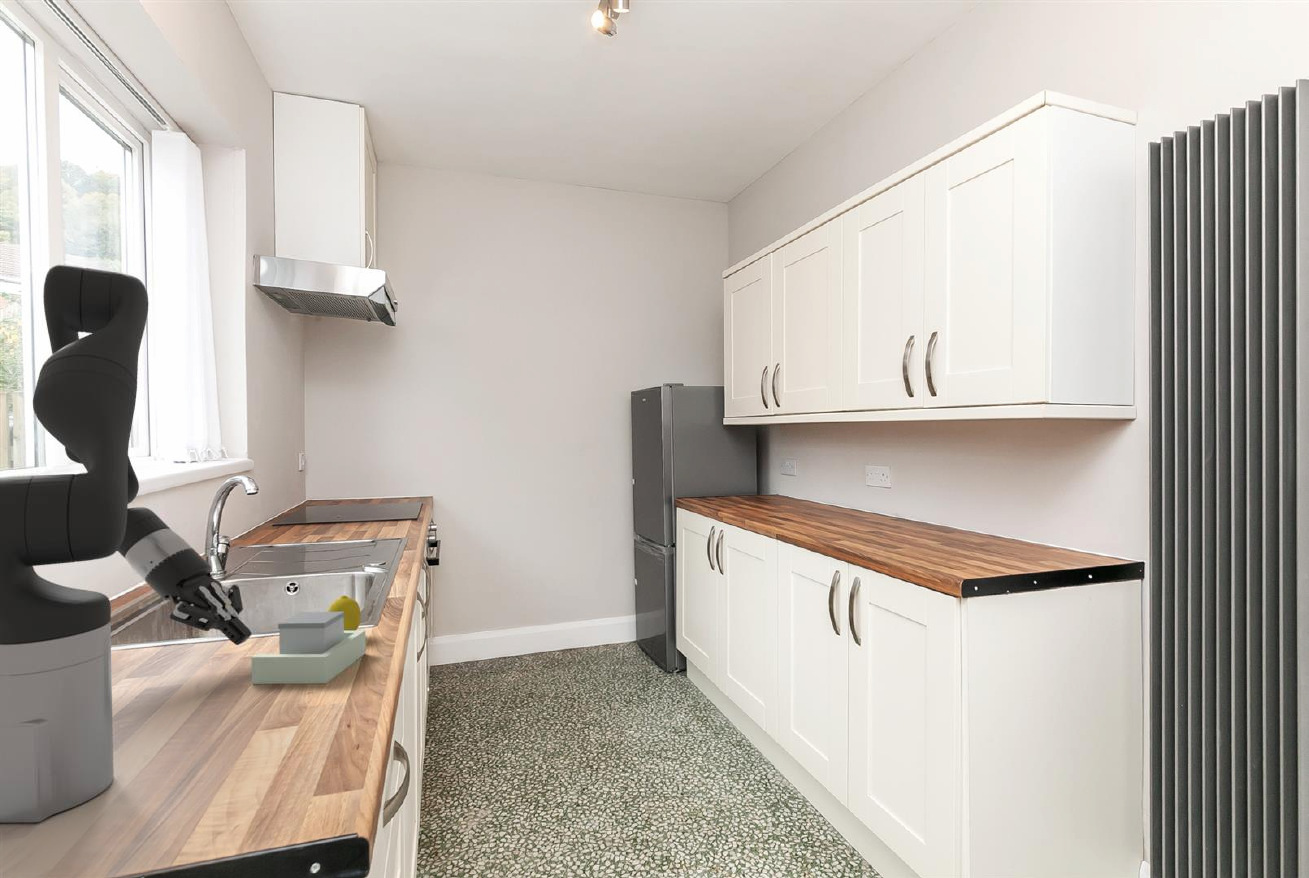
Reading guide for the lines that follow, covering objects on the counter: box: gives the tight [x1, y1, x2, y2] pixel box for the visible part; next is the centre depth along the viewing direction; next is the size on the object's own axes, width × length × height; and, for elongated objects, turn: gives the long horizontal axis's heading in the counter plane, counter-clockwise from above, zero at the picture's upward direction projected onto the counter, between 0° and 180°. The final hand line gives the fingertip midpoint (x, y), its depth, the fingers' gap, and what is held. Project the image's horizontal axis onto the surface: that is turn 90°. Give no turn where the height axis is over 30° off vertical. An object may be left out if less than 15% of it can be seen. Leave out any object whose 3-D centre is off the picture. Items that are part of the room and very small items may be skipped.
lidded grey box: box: [277, 611, 344, 654], centre depth 99 cm, size 6×7×8 cm
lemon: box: [327, 595, 362, 631], centre depth 113 cm, size 6×6×8 cm
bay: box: [251, 630, 366, 685], centre depth 99 cm, size 12×11×4 cm
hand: (245, 639), depth 99 cm, fingers closed
